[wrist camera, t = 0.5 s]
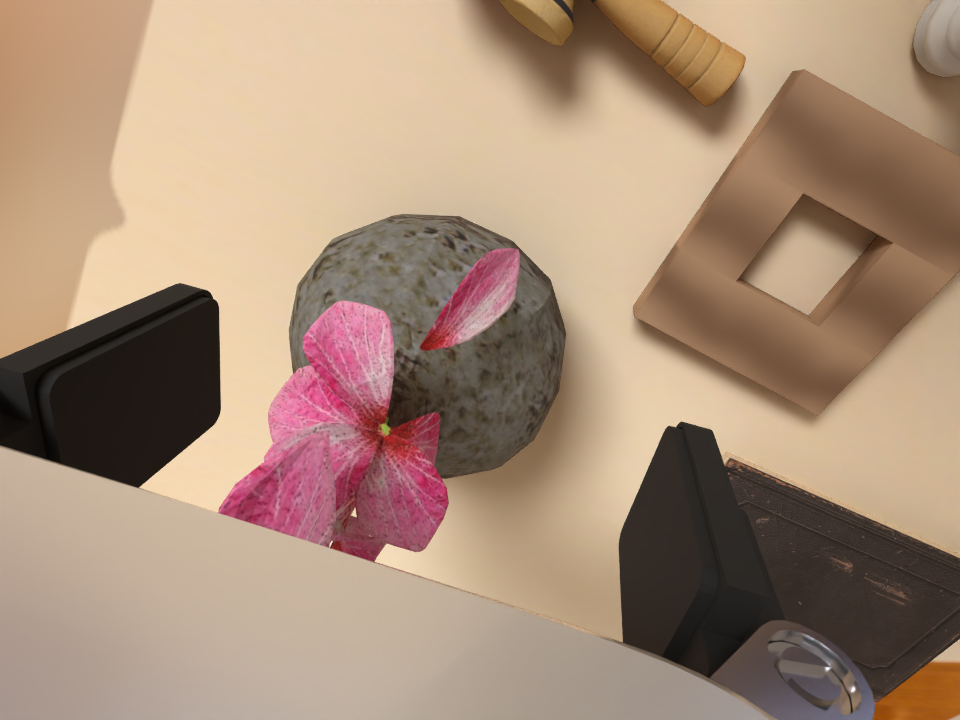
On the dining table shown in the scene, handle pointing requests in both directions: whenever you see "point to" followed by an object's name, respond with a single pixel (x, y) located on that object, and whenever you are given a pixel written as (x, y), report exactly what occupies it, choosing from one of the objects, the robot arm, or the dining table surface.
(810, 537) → the hardcover book
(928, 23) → the rook chess piece
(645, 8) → the kendama
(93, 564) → the robot arm
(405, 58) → the dining table surface
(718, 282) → the board
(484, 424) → the vase
